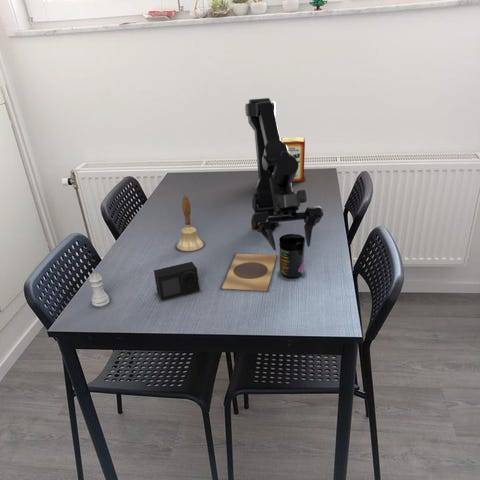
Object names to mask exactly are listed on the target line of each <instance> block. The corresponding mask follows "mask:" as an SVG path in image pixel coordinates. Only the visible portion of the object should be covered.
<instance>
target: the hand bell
mask: <svg viewBox="0 0 480 480" xmlns="http://www.w3.org/2000/svg"><path fill="white" fill-rule="evenodd" d="M181 209H182V214H183V216H184V224H185V227H183V228H182V229H181V231H180V232H181V233H180V234H181V235H180V239H179V241H178V242H177V244H176V248H177V249H178V250H180V251H182V252H194V251H199V250H200V249H202V248H203V247H204V242H203V240H201V239H200V238H199V236H198V232H197V229H196V228H195V227H193V226H192V222H191V220H192V219H191V212H192V205H191V201H190V199H189V196H188V195H183V196H182V201H181Z"/></svg>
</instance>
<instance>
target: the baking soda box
mask: <svg viewBox="0 0 480 480" xmlns="http://www.w3.org/2000/svg"><path fill="white" fill-rule="evenodd" d="M280 139H281V141H282V142H283V143H284V144H285V145H286V146H287V149H288V152H289V154H291V156H293V157H294V158H295V159H296V160H297V161H298V170H297V172H296V175H295V177H294V180H293V182H304V181H305V154H306V140H305V139H306V138H305V137H280Z"/></svg>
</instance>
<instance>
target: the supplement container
mask: <svg viewBox="0 0 480 480" xmlns="http://www.w3.org/2000/svg"><path fill="white" fill-rule="evenodd" d="M278 238H279V239H278V246H279V247H278V248H279V249H278V251H279V252H278V255H279V256H278V257H279V260H278V263H279V265H278V268H279V269H278V271H279V275H280V276H281V277H282V278H283V279H287V280H297V279H300V278H302V277H303V275H304V273H305V246H306V237H305V236H303V235H301V234H297V233H286V234H283V235H281V236H279V237H278Z"/></svg>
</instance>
